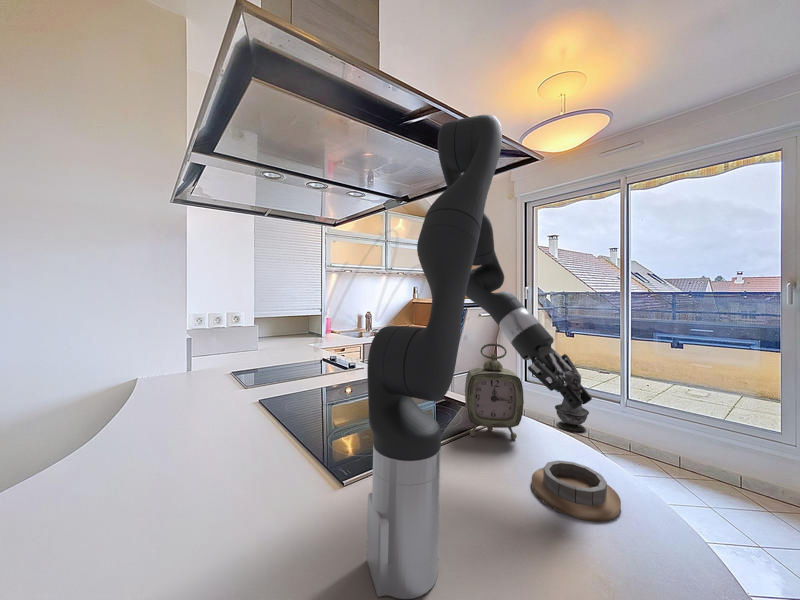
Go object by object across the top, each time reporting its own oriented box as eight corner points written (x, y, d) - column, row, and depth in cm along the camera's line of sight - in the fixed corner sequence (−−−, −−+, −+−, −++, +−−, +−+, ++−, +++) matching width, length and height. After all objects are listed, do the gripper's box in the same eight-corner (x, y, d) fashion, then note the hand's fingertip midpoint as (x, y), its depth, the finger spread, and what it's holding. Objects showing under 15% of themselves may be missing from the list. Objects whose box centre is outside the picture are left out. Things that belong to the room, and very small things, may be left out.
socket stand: (576, 529, 52) (577, 506, 52) (515, 479, 66) (515, 461, 66) (640, 510, 57) (641, 490, 57) (570, 467, 71) (571, 451, 71)
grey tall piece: (555, 430, 60) (557, 367, 60) (552, 419, 66) (554, 361, 66) (591, 436, 58) (593, 371, 58) (585, 424, 64) (587, 364, 64)
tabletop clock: (466, 438, 85) (468, 344, 84) (463, 425, 94) (465, 340, 93) (522, 442, 83) (525, 347, 83) (514, 428, 92) (516, 342, 92)
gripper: (519, 323, 63) (584, 401, 54) (552, 320, 72) (612, 387, 63) (495, 346, 67) (551, 422, 58) (529, 341, 76) (582, 406, 67)
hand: (583, 403), depth 60 cm, fingers closed on grey tall piece, 3 cm apart
